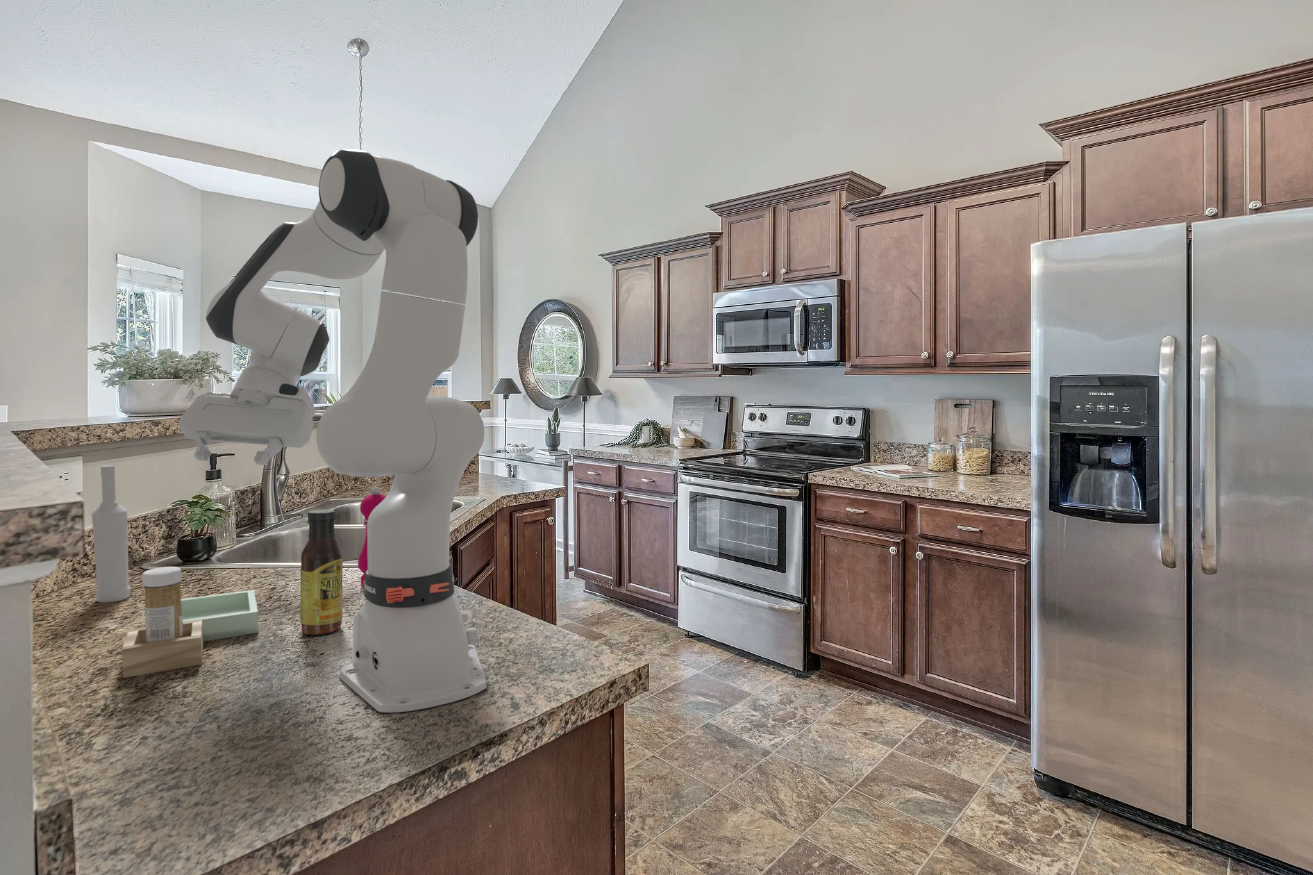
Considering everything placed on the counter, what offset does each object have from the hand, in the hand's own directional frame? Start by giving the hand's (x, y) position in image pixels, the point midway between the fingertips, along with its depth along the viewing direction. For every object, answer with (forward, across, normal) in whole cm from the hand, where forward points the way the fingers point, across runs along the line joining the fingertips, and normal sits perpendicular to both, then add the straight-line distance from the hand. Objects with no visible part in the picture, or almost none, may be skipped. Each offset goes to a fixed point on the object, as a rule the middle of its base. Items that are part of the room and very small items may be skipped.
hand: (230, 460), depth 112 cm
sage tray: (+22, -2, +18) cm, 28 cm away
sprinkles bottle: (+31, 0, +7) cm, 32 cm away
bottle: (+13, -28, +32) cm, 44 cm away
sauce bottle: (+22, +17, +16) cm, 32 cm away
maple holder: (+30, 0, +7) cm, 31 cm away
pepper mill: (+4, +17, +36) cm, 40 cm away
